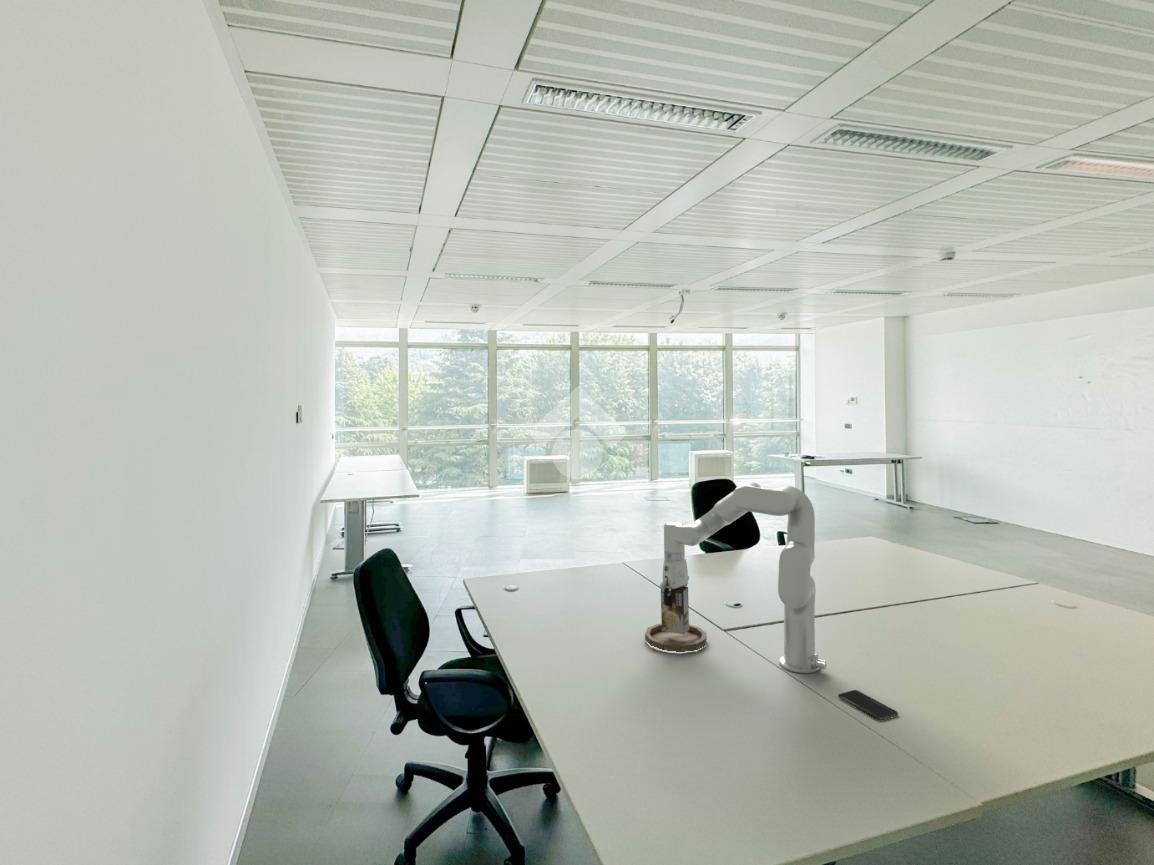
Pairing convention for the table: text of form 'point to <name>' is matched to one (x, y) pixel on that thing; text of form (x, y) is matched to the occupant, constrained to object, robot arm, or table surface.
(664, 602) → the robot arm
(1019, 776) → the table surface
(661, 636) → the round tray
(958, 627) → the table surface
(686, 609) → the coffee box
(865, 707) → the phone
